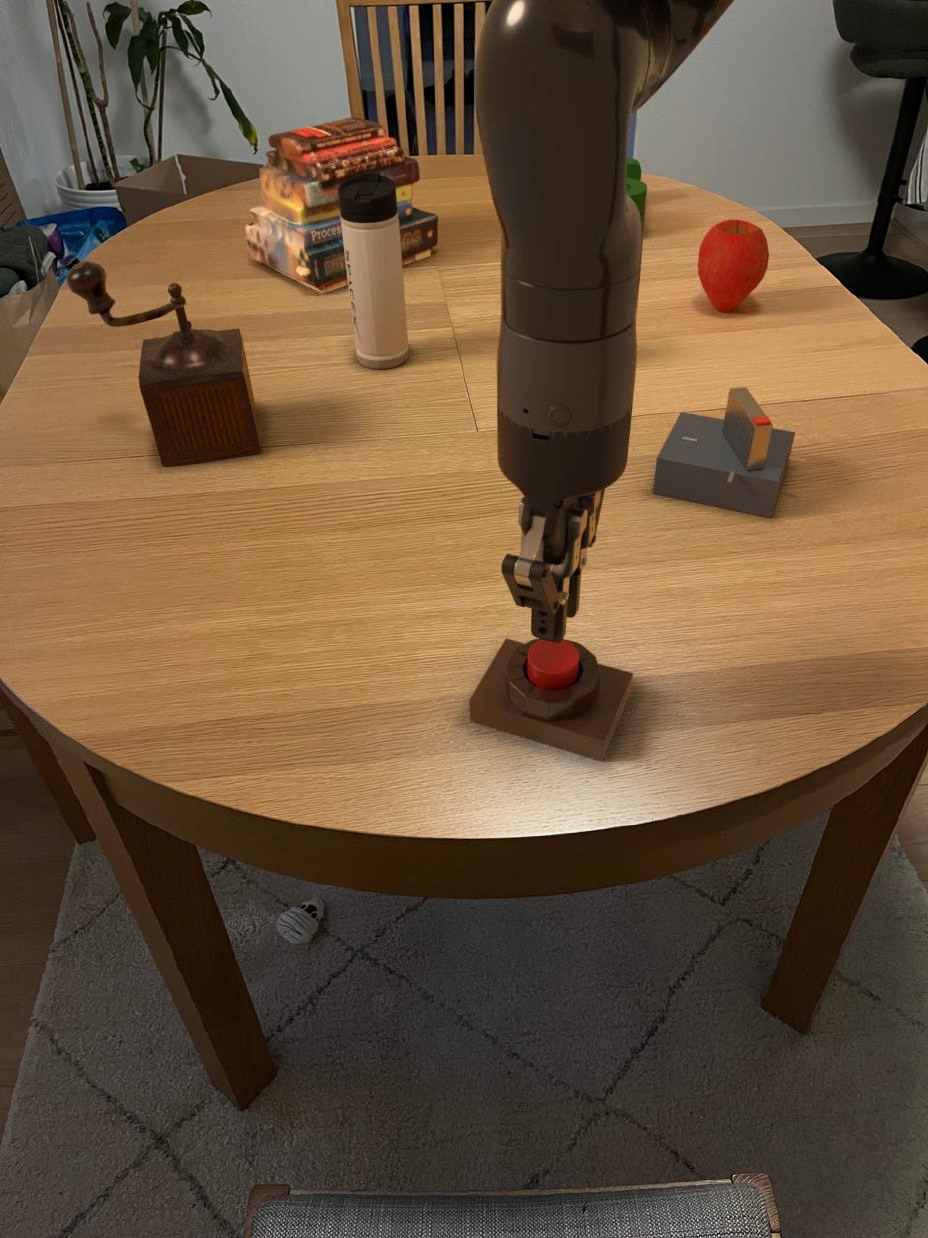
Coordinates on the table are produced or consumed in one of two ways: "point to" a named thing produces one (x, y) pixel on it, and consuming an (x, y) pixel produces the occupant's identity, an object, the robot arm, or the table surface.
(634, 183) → the slotted cylinder bracket
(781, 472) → the grey slotted base
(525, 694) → the button block
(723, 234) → the apple
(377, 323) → the travel mug
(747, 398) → the red-tipped tan bar
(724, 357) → the table surface
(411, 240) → the book
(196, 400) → the manual coffee grinder
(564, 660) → the red push button
